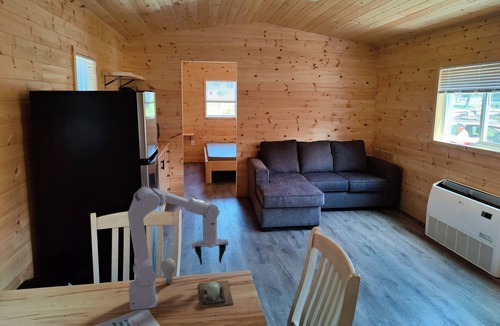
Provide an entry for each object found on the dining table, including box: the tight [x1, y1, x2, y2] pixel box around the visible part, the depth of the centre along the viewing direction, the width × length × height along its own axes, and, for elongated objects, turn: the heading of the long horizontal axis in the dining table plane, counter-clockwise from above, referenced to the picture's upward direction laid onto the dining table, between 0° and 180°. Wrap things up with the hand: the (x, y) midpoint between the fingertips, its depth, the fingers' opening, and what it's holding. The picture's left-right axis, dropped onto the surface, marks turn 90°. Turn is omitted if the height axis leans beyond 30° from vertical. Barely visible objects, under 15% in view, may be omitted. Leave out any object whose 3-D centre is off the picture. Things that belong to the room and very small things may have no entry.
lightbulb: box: [160, 257, 177, 285], centre depth 148 cm, size 6×6×11 cm
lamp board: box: [198, 279, 234, 309], centre depth 141 cm, size 12×16×1 cm
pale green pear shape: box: [207, 281, 220, 300], centre depth 138 cm, size 6×5×5 cm
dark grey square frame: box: [202, 288, 225, 305], centre depth 138 cm, size 8×8×1 cm
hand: (210, 262), depth 147 cm, fingers open, 7 cm apart
